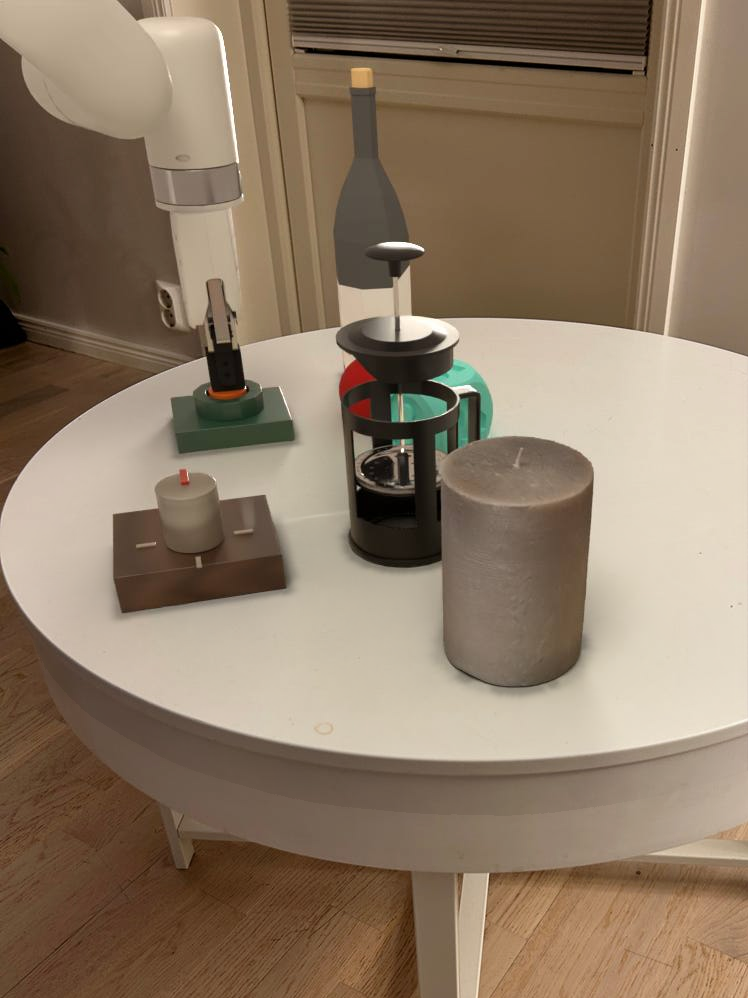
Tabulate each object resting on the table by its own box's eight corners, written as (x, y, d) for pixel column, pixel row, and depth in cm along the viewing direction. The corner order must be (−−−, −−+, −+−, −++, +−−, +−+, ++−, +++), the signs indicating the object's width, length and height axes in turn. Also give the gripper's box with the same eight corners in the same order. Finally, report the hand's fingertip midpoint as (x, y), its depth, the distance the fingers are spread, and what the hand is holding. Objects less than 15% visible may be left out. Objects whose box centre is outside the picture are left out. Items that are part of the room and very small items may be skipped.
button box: (179, 454, 95) (171, 414, 92) (174, 417, 102) (167, 380, 99) (294, 440, 97) (290, 401, 95) (282, 406, 104) (278, 369, 102)
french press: (365, 580, 76) (343, 272, 63) (325, 526, 83) (297, 238, 70) (501, 546, 81) (507, 252, 67) (452, 498, 88) (449, 221, 74)
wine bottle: (354, 361, 115) (334, 63, 98) (422, 366, 114) (413, 65, 96) (332, 386, 109) (306, 72, 91) (404, 392, 107) (391, 75, 90)
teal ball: (493, 449, 96) (495, 368, 91) (442, 479, 91) (441, 395, 86) (428, 428, 100) (426, 350, 95) (376, 456, 94) (371, 374, 90)
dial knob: (227, 548, 74) (218, 490, 71) (167, 557, 73) (154, 499, 70) (222, 521, 78) (212, 465, 75) (164, 529, 77) (152, 472, 74)
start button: (212, 414, 96) (209, 397, 95) (209, 400, 99) (206, 383, 98) (250, 410, 97) (247, 393, 96) (246, 396, 100) (243, 379, 99)
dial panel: (121, 615, 72) (112, 578, 71) (120, 546, 80) (112, 511, 79) (287, 590, 75) (282, 554, 73) (269, 526, 83) (265, 492, 81)
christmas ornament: (344, 411, 103) (336, 314, 97) (412, 410, 103) (409, 314, 98) (339, 440, 97) (330, 338, 92) (411, 439, 98) (407, 338, 92)
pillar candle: (566, 603, 74) (579, 413, 65) (594, 684, 66) (613, 479, 57) (436, 611, 73) (431, 419, 64) (448, 694, 65) (445, 488, 56)
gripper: (150, 170, 91) (184, 365, 102) (156, 206, 80) (194, 422, 90) (233, 166, 93) (258, 358, 104) (251, 201, 81) (277, 412, 92)
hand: (228, 387), depth 97 cm, fingers closed
